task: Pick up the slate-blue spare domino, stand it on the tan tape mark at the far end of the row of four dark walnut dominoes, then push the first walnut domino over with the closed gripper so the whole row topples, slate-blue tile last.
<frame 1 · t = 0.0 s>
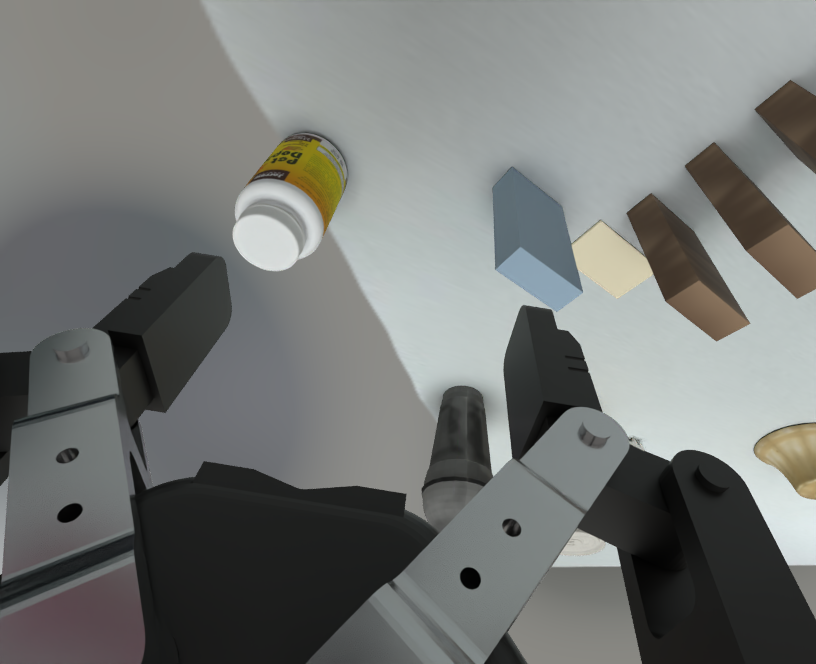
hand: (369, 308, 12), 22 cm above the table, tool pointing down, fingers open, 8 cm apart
domino 5: (527, 197, 33), on the table
domino 2: (794, 121, 28), on the table
beer can: (553, 403, 50), on the table
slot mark: (609, 261, 36), on the table
hand bell: (797, 442, 50), on the table
domino 4: (660, 222, 33), on the table
domino 3: (721, 176, 30), on the table
supplement bottle: (313, 166, 34), on the table
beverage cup: (462, 397, 51), on the table
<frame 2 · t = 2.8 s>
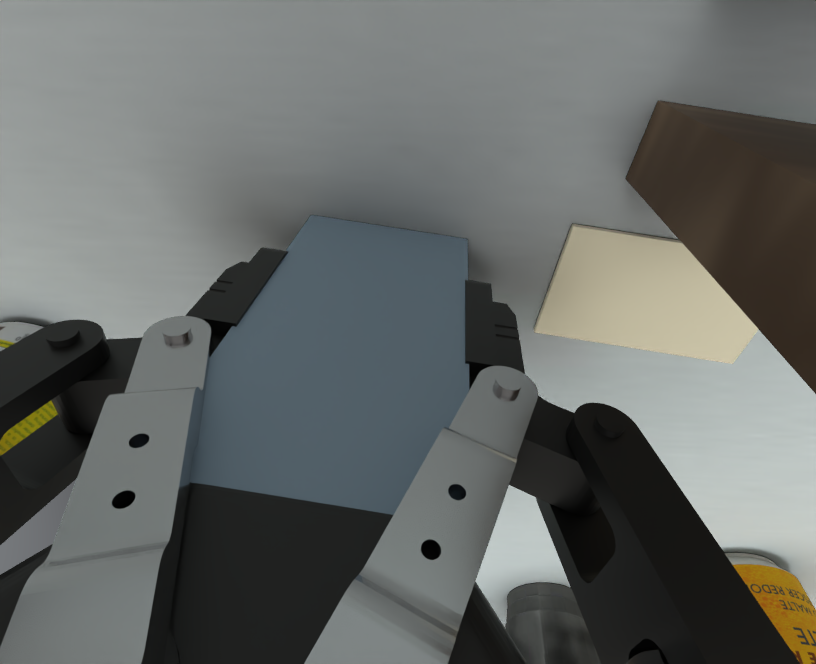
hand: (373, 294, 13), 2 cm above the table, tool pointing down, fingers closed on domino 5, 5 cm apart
domino 5: (386, 255, 15), on the table, touching gripper
beer can: (722, 572, 24), on the table
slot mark: (657, 297, 15), on the table
domino 4: (733, 155, 12), on the table
supplement bottle: (57, 364, 20), on the table
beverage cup: (543, 596, 28), on the table
when the fingers open (3 cm above the table, at t = 8.0 s): domino 5 stays where it is, resting on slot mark.
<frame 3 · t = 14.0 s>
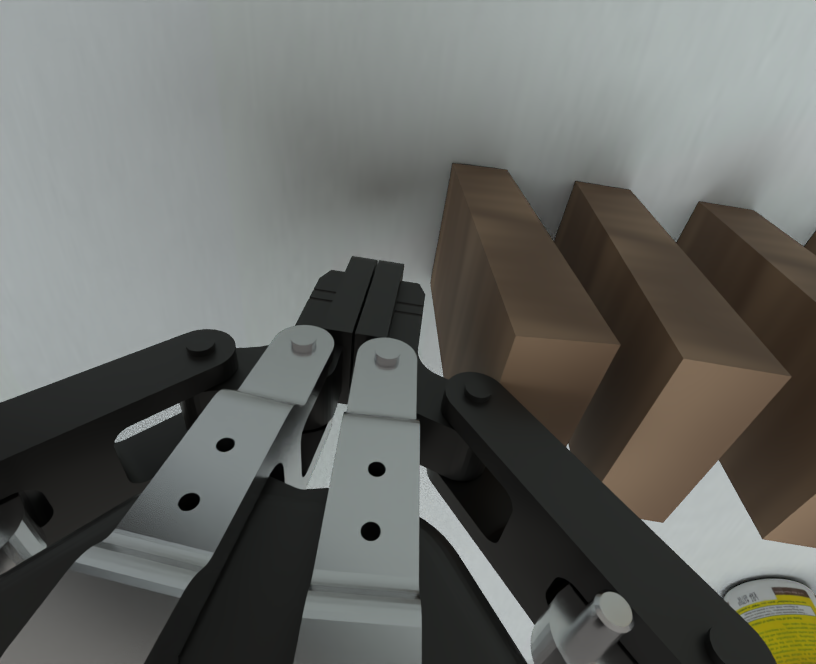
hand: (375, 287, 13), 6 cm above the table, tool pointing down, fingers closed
domino 2: (578, 248, 18), on the table
domino 1: (465, 230, 18), on the table, tilted 8°, touching gripper
domino 3: (691, 266, 18), on the table
supplement bottle: (762, 590, 32), on the table
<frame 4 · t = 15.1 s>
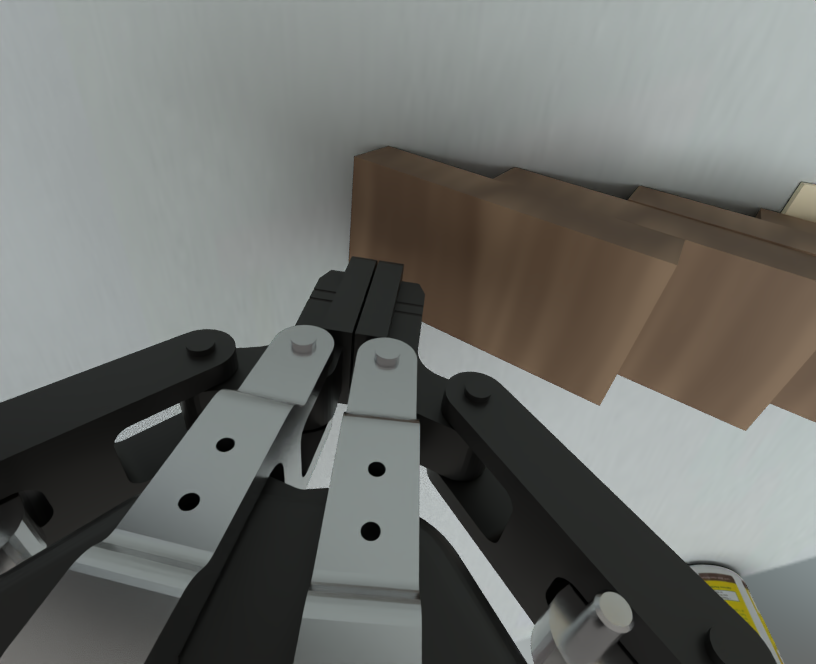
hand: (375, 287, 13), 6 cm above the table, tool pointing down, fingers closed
domino 2: (487, 239, 17), point 1 cm above the table, tilted 63°, touching domino 1, domino 3
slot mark: (793, 279, 17), on the table
domino 1: (367, 219, 17), point 1 cm above the table, tilted 63°, touching domino 2
domino 4: (722, 278, 17), point 1 cm above the table, tilted 63°, touching domino 3, domino 5
domino 3: (606, 257, 17), point 1 cm above the table, tilted 63°, touching domino 2, domino 4
supplement bottle: (695, 577, 31), on the table
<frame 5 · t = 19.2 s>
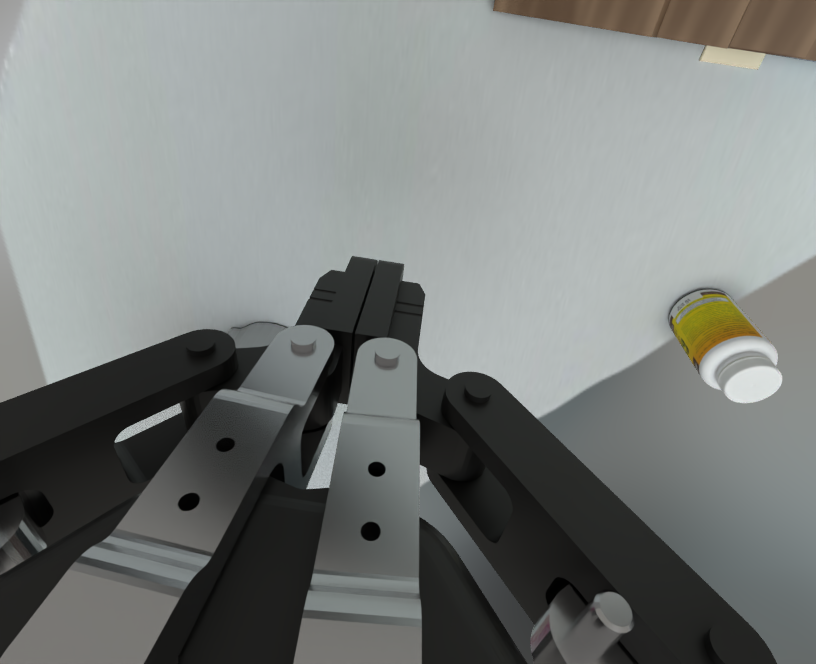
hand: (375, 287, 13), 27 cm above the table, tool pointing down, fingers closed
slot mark: (757, 2, 29), on the table
supplement bottle: (697, 310, 43), on the table
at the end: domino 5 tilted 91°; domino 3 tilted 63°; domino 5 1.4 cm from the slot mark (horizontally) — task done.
